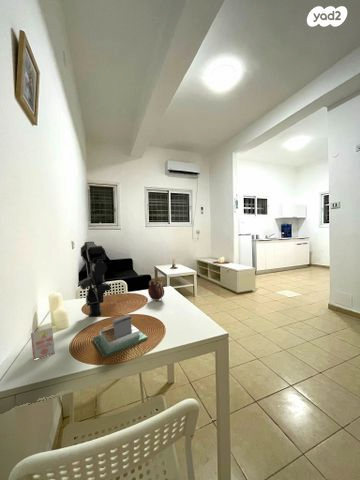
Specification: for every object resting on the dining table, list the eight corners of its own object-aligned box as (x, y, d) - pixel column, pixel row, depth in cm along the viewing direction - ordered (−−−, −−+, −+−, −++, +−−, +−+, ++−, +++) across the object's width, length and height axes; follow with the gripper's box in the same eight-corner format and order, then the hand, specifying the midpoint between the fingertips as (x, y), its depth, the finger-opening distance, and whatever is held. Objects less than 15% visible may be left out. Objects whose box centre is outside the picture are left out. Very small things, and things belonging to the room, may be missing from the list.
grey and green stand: (92, 340, 86) (90, 316, 85) (131, 325, 97) (129, 304, 96) (104, 358, 73) (102, 329, 73) (147, 339, 84) (145, 314, 84)
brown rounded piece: (165, 300, 129) (164, 277, 128) (160, 302, 125) (159, 279, 124) (152, 297, 135) (151, 276, 134) (147, 300, 131) (146, 278, 130)
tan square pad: (101, 328, 86) (107, 326, 79) (125, 319, 93) (132, 317, 86) (102, 330, 86) (107, 329, 79) (126, 322, 92) (133, 319, 86)
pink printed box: (33, 356, 77) (31, 331, 76) (54, 349, 81) (51, 325, 80) (33, 360, 74) (30, 335, 73) (54, 353, 78) (52, 328, 77)
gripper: (75, 271, 100) (77, 301, 101) (84, 277, 86) (87, 312, 87) (97, 267, 107) (100, 295, 108) (109, 272, 93) (112, 304, 94)
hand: (99, 301), depth 99 cm, fingers closed
